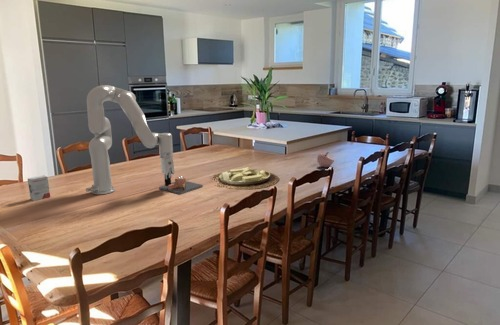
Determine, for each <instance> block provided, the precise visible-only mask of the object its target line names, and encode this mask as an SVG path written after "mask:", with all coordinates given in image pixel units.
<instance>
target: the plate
mask: <svg viewBox="0 0 500 325" xmlns="http://www.w3.org/2000/svg"><path fill="white" fill-rule="evenodd" d="M211 180H213V181H215V182H216V184H214V185H215V187H218V188H227V189H228V190H236V191H237V190H240V191H248V190H249V191H250V190H259V189H260V190H262V189H265V188H267V189H268V188H270V187H272V186H274V185H276V184H278V183H279V181H281V180H280V177H279V176H278V175H276V174H274V173H272V172H269V171H267V170H264V169H260V168H250V167H249V166H248V167H243V168H237V169H234V168H233V169H229V170H226V171H224V172H223V171H222V172H220V173H218V174H215V175H213V176H212V178H211ZM228 186H229V187H228Z"/></svg>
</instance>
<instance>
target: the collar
mask: <svg viewBox="0 0 500 325" xmlns="http://www.w3.org/2000/svg"><path fill="white" fill-rule="evenodd" d="M186 181H187V180H186V176H183V178H182V179H178V176H175V177H174V182H175V183H174V182H173V183H174V184H171V185H168V189H169V190H171V189H174V188H177V187H183V184H185V186H186Z"/></svg>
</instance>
